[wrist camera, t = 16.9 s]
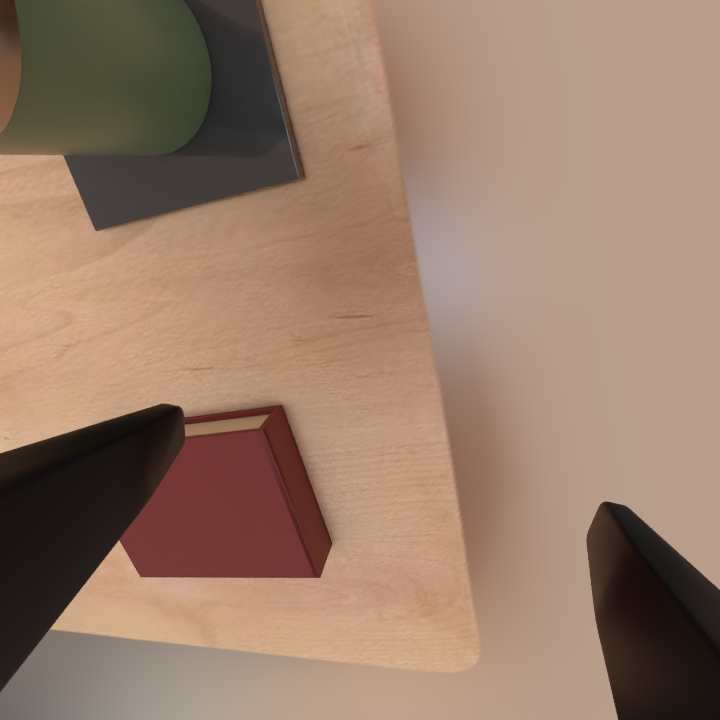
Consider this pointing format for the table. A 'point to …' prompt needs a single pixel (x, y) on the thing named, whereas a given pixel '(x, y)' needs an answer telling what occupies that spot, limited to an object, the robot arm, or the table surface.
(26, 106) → the tea tin
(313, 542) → the book
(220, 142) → the coaster
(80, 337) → the table surface
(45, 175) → the table surface
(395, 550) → the table surface
